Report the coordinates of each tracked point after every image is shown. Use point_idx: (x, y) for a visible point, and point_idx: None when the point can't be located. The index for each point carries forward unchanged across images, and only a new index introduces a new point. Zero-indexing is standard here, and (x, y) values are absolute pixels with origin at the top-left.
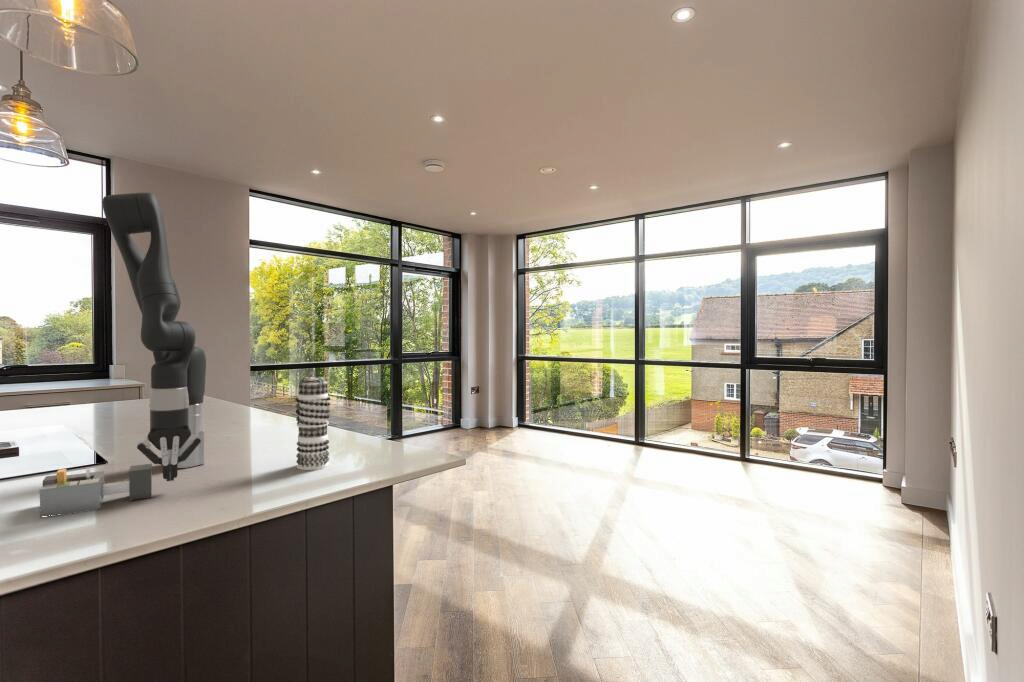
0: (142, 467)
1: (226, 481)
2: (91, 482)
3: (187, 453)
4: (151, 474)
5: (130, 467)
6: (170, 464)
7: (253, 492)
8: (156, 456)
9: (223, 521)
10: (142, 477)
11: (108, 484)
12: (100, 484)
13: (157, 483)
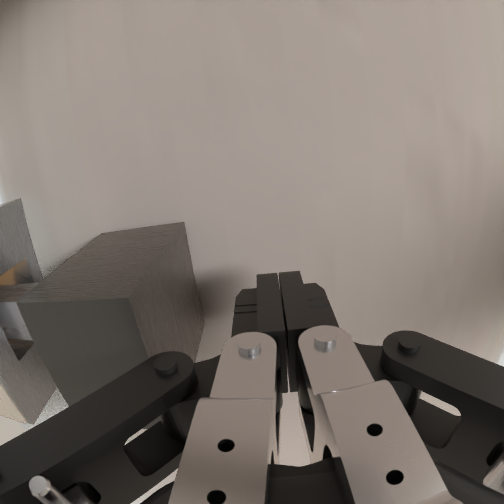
0: (107, 380)
1: (493, 184)
2: (14, 419)
3: (430, 438)
4: None
5: (35, 344)
6: (290, 362)
7: (500, 360)
8: (163, 404)
9: None
10: None
11: (19, 320)
12: (28, 397)
13: (185, 43)
